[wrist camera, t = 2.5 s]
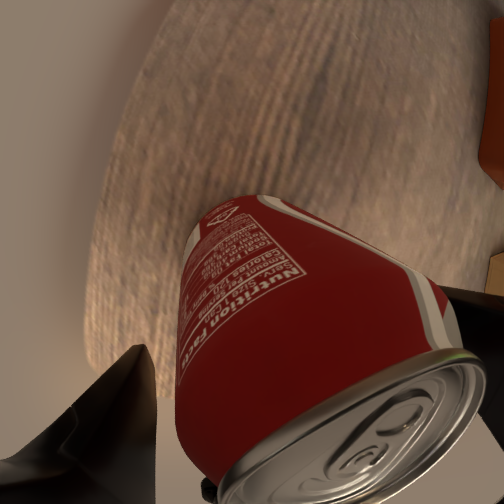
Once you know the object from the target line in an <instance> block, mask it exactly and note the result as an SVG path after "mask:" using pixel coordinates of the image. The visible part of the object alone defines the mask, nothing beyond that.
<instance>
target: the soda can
mask: <svg viewBox="0 0 504 504" xmlns="http://www.w3.org/2000/svg"><path fill="white" fill-rule="evenodd" d="M487 384H488V372H487V369H486V366H485V365H484V363H483V362H482V361H481V360H480V359H479V358H478V357H477V356H476V355H474V354H473V353H471V352H470V351H468V350H465V349H463V344H462V340H461V335H460V331H459V327H458V323H457V319H456V316H455V313H454V310H453V307H452V305H451V303H450V301H449V299H448V298H447V296H446V295H445V294H444V292H443V291H442V290H441V289H440V288H439V287H438V286H437V285H436V284H435V283H434V282H433V281H432V280H430V279H429V278H427V277H425V276H424V275H422V274H421V273H419V272H417V271H416V270H414V269H412V268H410V267H409V266H407V265H405V264H403V263H402V262H400V261H398V260H396V259H395V258H393V257H391V256H389V255H388V254H386V253H384V252H382V251H380V250H379V249H377V248H375V247H373V246H371V245H369V244H368V243H366V242H364V241H362V240H360V239H358V238H356V237H355V236H353V235H351V234H349V233H347V232H345V231H343V230H341V229H339V228H337V227H336V226H334V225H332V224H330V223H328V222H326V221H324V220H322V219H320V218H318V217H316V216H314V215H312V214H310V213H308V212H306V211H304V210H302V209H300V208H298V207H296V206H294V205H292V204H290V203H288V202H286V201H284V200H281V199H278V198H276V197H272V196H267V195H256V194H254V195H244V196H239V197H235V198H232V199H229V200H226V201H224V202H222V203H220V204H219V205H217V206H215V207H214V208H212V209H211V210H210V211H208V212H207V213H206V214H205V215H204V216H203V217H202V218H201V219H200V220H199V222H198V223H197V224H196V225H195V227H194V228H193V230H192V232H191V234H190V235H189V238H188V240H187V243H186V246H185V249H184V254H183V264H182V275H181V286H180V299H179V313H178V330H177V350H176V378H175V425H176V431H177V436H178V439H179V441H180V444H181V446H182V448H183V450H184V452H185V453H186V455H187V456H188V457H189V459H190V460H191V461H192V462H193V464H194V465H195V466H196V467H197V468H198V469H199V470H200V471H201V472H202V473H203V474H204V475H205V476H206V477H207V478H209V479H210V480H211V481H212V482H213V483H214V484H215V485H216V486H217V487H218V492H217V498H218V504H380V503H381V502H383V501H385V500H387V499H389V498H390V497H392V496H394V495H395V494H397V493H399V492H400V491H402V490H403V489H405V488H406V487H408V486H409V485H411V484H412V483H413V482H415V481H416V480H417V479H419V478H420V477H421V476H422V475H424V474H425V473H426V472H427V471H428V470H430V469H431V468H432V467H433V466H434V465H435V464H437V463H438V462H439V461H440V460H441V459H442V458H443V457H444V456H445V455H446V454H447V453H448V452H449V451H450V450H451V449H452V447H453V446H454V445H455V444H456V443H457V442H458V440H459V439H460V438H461V437H462V435H463V434H464V432H465V431H466V430H467V428H468V427H469V426H470V424H471V422H472V421H473V419H474V418H475V416H476V414H477V412H478V410H479V408H480V406H481V404H482V402H483V399H484V396H485V393H486V389H487Z"/></svg>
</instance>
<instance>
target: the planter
mask: <svg viewBox="0 0 504 504" xmlns="http://www.w3.org/2000/svg"><path fill="white" fill-rule="evenodd" d="M479 163H480V166H481V168H482V169H483V170H484V171H485V172H486V173H487V174H488V175H489V176H490V177H491V178H492V179H493V180H494V182H495V183H496V184H497V185H498V186H499V187H500V188H501V189H502V190H504V17H499V18H495V19H492V20H491V21H490V71H489V86H488V97H487V105H486V113H485V120H484V127H483V133H482V139H481V144H480V149H479Z"/></svg>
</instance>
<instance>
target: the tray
mask: <svg viewBox="0 0 504 504" xmlns="http://www.w3.org/2000/svg"><path fill="white" fill-rule="evenodd" d="M484 293H487V294H492V295H499V296H504V252H502V253H500V254H497V255H495V256H493V257H491V258H490V264H489V270H488V276H487V281H486V286H485V291H484Z"/></svg>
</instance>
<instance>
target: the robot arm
mask: <svg viewBox="0 0 504 504" xmlns="http://www.w3.org/2000/svg"><path fill="white" fill-rule="evenodd" d="M437 286H438V287H439V288H440V289H441V290H442V291H443V292H444V294H445V295H446V296H447V298H448V299H449V301H450V303H451V305H452V307H453V310H454V313H455V316H456V319H457V323H458V327H459V331H460V335H461V340H462V344H463V349H465V350H468V351H470V352H471V353H473V354H474V355H476V356H477V357H478V358H479V359H480V360H481V361H482V362H483V363H484V365H485V366H486V369H487V372H488V384H487V389H486V393H485V396H484V399H483V402H482V404H481V406H480V408H479V410H478V414H479V415H480V416H481V417H482V419H483V421H484V422H485V424H486V425H487V427H488V428H489V430H490V431H491V433H492V434H493V436H494V438H495V439H496V441H497V442H498V444H499V445H500V447H501V448H502V450H503V451H504V296H499V295H492V294H487V293H481V292H475V291H470V290H464V289H458V288H452V287H446V286H440V285H437ZM156 425H157V399H156V381H155V367H154V364H153V361H152V359H151V356H150V354H149V351H148V349H147V347H146V345H145V344H139V345H133V346H132V347H131V348H130V349H128V350H127V351H126V352H125V353H124V354H123V355H122V356H121V357H120V358H119V359H118V360H117V361H116V362H115V363H114V364H113V365H112V366H111V367H110V368H109V369H108V370H107V371H106V372H105V373H104V374H103V375H102V376H101V377H100V378H99V379H98V380H97V381H96V382H95V383H94V384H92V385H91V386H90V387H89V388H88V389H87V390H86V391H85V392H84V393H83V394H82V395H81V396H80V397H79V398H78V399H77V400H76V401H75V402H74V403H73V404H72V405H71V407H69V408H68V409H67V410H66V411H65V412H64V413H63V414H62V415H61V416H60V417H59V418H58V419H57V420H56V421H54V422H53V423H52V424H51V425H50V426H49V427H48V428H46V429H45V430H44V431H43V432H42V433H41V434H40V435H38V436H37V437H36V438H35V439H33V440H32V441H31V442H30V443H29V444H27V445H26V446H25V447H24V448H22V449H21V450H20V451H19V452H18V453H16V454H15V455H13V456H11V457H9V458H6V459H3V460H0V504H155V454H156V453H155V452H156V451H155V450H156ZM217 492H218V487H217V486H213V487H206V488H204V493H205V494H206V496H207V497H208V498H209V500H210V501H211V502H212V504H218V498H217ZM495 504H504V495H503V496H502V497H501V498H500V499H499V500H498V501H497V502H496V503H495Z"/></svg>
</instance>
